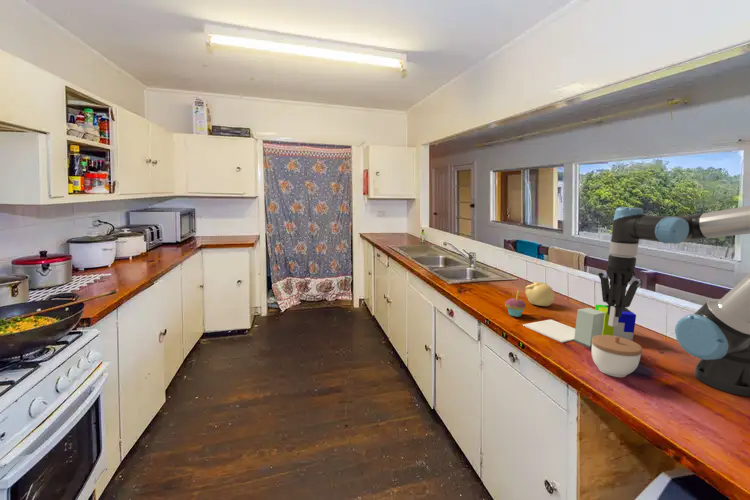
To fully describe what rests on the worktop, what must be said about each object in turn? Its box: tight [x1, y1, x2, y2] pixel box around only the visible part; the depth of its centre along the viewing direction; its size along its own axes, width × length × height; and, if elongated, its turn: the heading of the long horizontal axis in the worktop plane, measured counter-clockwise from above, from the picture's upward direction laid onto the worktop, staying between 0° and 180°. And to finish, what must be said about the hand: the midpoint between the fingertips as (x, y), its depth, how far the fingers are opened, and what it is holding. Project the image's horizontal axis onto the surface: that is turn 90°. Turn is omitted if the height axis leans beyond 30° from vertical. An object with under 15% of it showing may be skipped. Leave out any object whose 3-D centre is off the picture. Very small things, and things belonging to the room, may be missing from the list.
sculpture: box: [525, 281, 555, 307], centre depth 178 cm, size 11×12×11 cm
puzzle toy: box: [594, 304, 637, 342], centre depth 143 cm, size 10×10×10 cm
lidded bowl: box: [590, 335, 643, 378], centre depth 113 cm, size 13×13×11 cm
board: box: [522, 318, 576, 343], centre depth 146 cm, size 18×16×1 cm
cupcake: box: [504, 289, 527, 318], centre depth 162 cm, size 9×8×12 cm
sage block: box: [573, 307, 605, 349], centre depth 133 cm, size 6×6×12 cm
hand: (612, 325), depth 126 cm, fingers closed
